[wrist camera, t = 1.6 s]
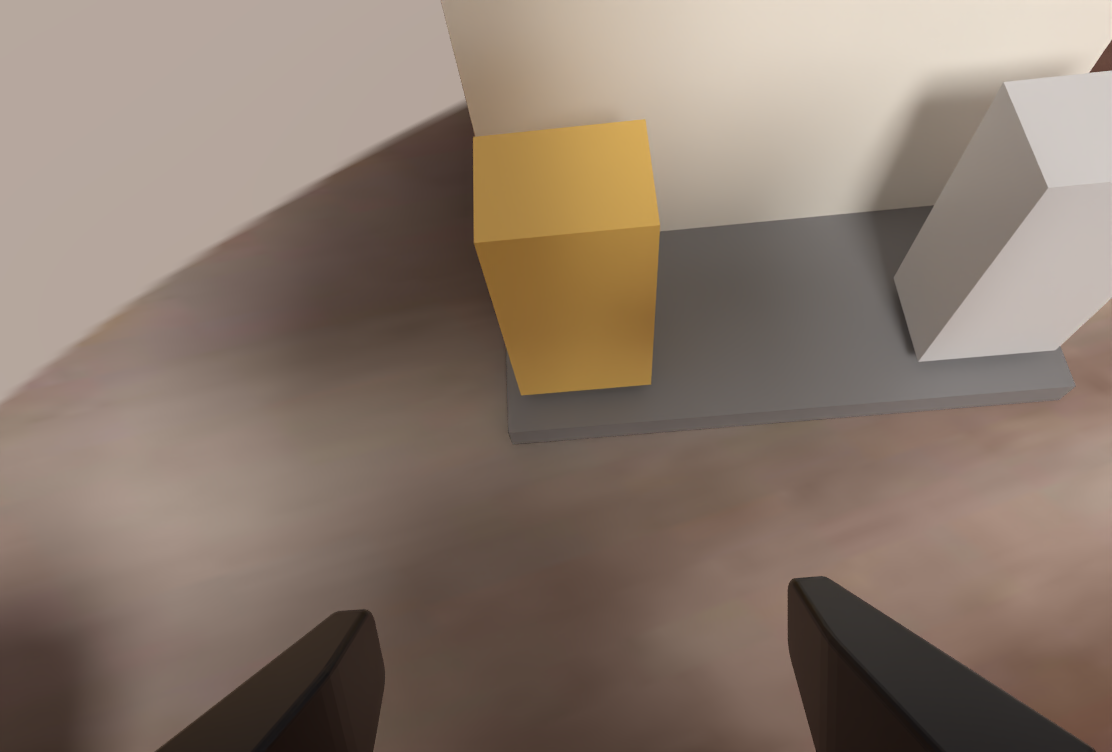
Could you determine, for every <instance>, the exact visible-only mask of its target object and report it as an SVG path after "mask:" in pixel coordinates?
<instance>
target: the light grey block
mask: <svg viewBox="0 0 1112 752" xmlns="http://www.w3.org/2000/svg"><path fill="white" fill-rule="evenodd" d="M894 281H895V285H896V288H897V291H898V295H899V298H900V302H901V305H902V309H903V312H904V315H905V319H906V322H907V326H908V329H909V333H910V336H911V339H912V343H913V346H914V350H915V353H916V357H917V360H918V362H923V361H935V360H946V359H958V358H970V357H982V356H994V355H1006V354H1017V353H1029V352H1041V351H1053V350H1056V349H1057V348H1058V347H1059V346H1061V345H1062V344H1063V343H1064V342H1065V341H1066V340H1067V339H1068V338H1069V337H1070V336H1071V335H1072V334H1073V333H1075V332H1076V331H1077V330H1078V329H1079V328H1080V327H1081V326H1082V325H1083V324H1084V323H1085V322H1086V321H1087V320H1088V319H1090V318H1091V317H1092V316H1093V315H1094V314H1095V313H1096V312H1097V311H1098V310H1099V309H1100V308H1101V307H1102V306H1103V305H1105V304H1106V303H1107V302H1108V301H1109V300H1110V299H1111V298H1112V71H1104V72H1095V73H1085V74H1075V75H1066V76H1056V77H1046V78H1037V79H1027V80H1017V81H1008V82H1003V84H1002V86H1001V87H1000V89H999V91H998V93H997V94H996V96H995V98H994V100H993V102H992V103H991V105H990V107H989V109H988V111H987V112H986V114H985V116H984V118H983V119H982V121H981V123H980V125H979V127H978V128H977V130H976V132H975V134H974V135H973V137H972V139H971V141H970V143H969V144H968V146H967V148H966V150H965V151H964V153H963V155H962V157H961V159H960V160H959V162H958V164H957V166H956V167H955V169H954V171H953V173H952V175H951V176H950V178H949V180H948V182H947V183H946V185H945V187H944V189H943V191H942V192H941V194H940V196H939V198H938V200H937V201H936V203H935V205H934V207H933V208H932V210H931V212H930V214H929V216H928V217H927V219H926V221H925V223H924V224H923V226H922V228H921V230H920V232H919V233H918V235H917V237H916V239H915V240H914V242H913V244H912V246H911V248H910V249H909V251H908V253H907V255H906V256H905V258H904V260H903V262H902V264H901V265H900V267H899V269H898V271H897V272H896V274H895V276H894Z"/></svg>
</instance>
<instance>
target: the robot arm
mask: <svg viewBox="0 0 1112 752" xmlns="http://www.w3.org/2000/svg"><path fill="white" fill-rule="evenodd" d="M788 646H789V653H790V658H791V662H792V666H793V669H794V673H795V676H796V680H797V684H798V687H799V691H800V695H801V698H802V702H803V706H804V709H805V713H806V716H807V720H808V724H809V727H810V731H811V735H812V738H813V742H814V746H815V749H816V752H1096V751H1095V749H1094V748H1093V747H1091V746H1089V745H1088V744H1086V743H1085V742H1083V741H1082V740H1080V739H1079V738H1077V737H1075V736H1074V735H1072V734H1071V733H1069V732H1068V731H1066V730H1065V729H1063V728H1061V727H1060V726H1058V725H1057V724H1055V723H1054V722H1052V721H1051V720H1049V719H1047V718H1046V717H1044V716H1043V715H1041V714H1040V713H1038V712H1036V711H1035V710H1033V709H1032V708H1030V707H1029V706H1027V705H1026V704H1024V703H1022V702H1021V701H1019V700H1018V699H1016V698H1015V697H1013V696H1012V695H1010V694H1008V693H1007V692H1005V691H1004V690H1002V689H1001V688H999V687H998V686H996V685H994V684H993V683H991V682H990V681H988V680H987V679H985V678H983V677H982V676H980V675H979V674H977V673H976V672H974V671H973V670H971V669H969V668H968V667H966V666H965V665H963V664H962V663H960V662H959V661H957V660H955V659H954V658H952V657H951V656H949V655H948V654H946V653H945V652H943V651H941V650H940V649H938V648H937V647H935V646H934V645H932V644H930V643H929V642H927V641H926V640H924V639H923V638H921V637H920V636H918V635H916V634H915V633H913V632H912V631H910V630H909V629H907V628H906V627H904V626H902V625H901V624H899V623H898V622H896V621H895V620H893V619H892V618H890V617H888V616H887V615H885V614H884V613H882V612H881V611H879V610H877V609H876V608H874V607H873V606H871V605H870V604H868V603H867V602H865V601H863V600H862V599H860V598H859V597H857V596H856V595H854V594H853V593H851V592H849V591H848V590H846V589H845V588H843V587H842V586H840V585H839V584H837V583H835V582H834V581H832V580H831V579H829V578H827V577H823V576H818V577H806V578H794V579H792V580H791V581H790V583H789V585H788ZM384 685H385V669H384V662H383V658H382V653H381V648H380V643H379V639H378V634H377V629H376V624H375V620H374V617H373V615H372V613H371V612H370V611H368V610H366V609H361V610H347V611H337V612H335V613H333V614H332V615H330V616H329V617H328V618H327V619H325V620H324V621H323V622H321V623H320V624H319V625H317V626H316V627H315V628H314V629H312V630H311V631H310V632H308V633H307V634H306V635H305V636H303V637H302V638H301V639H299V640H298V641H297V642H296V643H294V644H293V645H292V646H290V647H289V648H288V649H287V650H285V651H284V652H283V653H281V654H280V655H279V656H278V657H276V658H275V659H274V660H272V661H271V662H270V663H268V664H267V665H266V666H265V667H263V668H262V669H261V670H259V671H258V672H257V673H256V674H254V675H253V676H252V677H250V678H249V679H248V680H247V681H245V682H244V683H243V684H241V685H240V686H239V687H238V688H236V689H235V690H234V691H232V692H231V693H230V694H229V695H227V696H226V697H225V698H223V699H222V700H221V701H219V702H218V703H217V704H216V705H214V706H213V707H212V708H210V709H209V710H208V711H207V712H205V713H204V714H203V715H201V716H200V717H199V718H198V719H196V720H195V721H194V722H192V723H191V724H190V725H189V726H187V727H186V728H185V729H183V730H182V731H181V732H179V733H178V734H177V735H176V736H174V737H173V738H172V739H170V740H169V741H168V742H167V743H165V744H164V745H163V746H161V747H160V748H159V749H158V750H156V751H155V752H373V749H374V744H375V738H376V732H377V726H378V721H379V715H380V709H381V703H382V697H383V692H384Z"/></svg>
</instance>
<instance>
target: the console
mask: <svg viewBox="0 0 1112 752" xmlns="http://www.w3.org/2000/svg"><path fill="white" fill-rule="evenodd" d="M441 4H442V8H443V11H444V16H445V19H446V24H447V27H448V31H449V35H450V39H451V43H452V47H453V51H454V55H455V59H456V63H457V67H458V71H459V75H460V79H461V82H462V86H463V90H464V94H465V98H466V102H467V106H468V110H469V114H470V118H471V122H472V126H473V130H474V134H475V137H478V136H487V135H497V134H506V133H516V132H526V131H535V130H545V129H555V128H564V127H574V126H584V125H593V124H603V123H613V122H622V121H632V120H641V119H646V127H647V134H648V141H649V148H650V155H651V163H652V170H653V177H654V184H655V192H656V199H657V206H658V213H659V221H660V236H659V254H658V271H657V289H656V306H655V324H654V341H653V359H652V376H651V385H639V386H628V387H616V388H604V389H592V390H580V391H568V392H557V393H545V394H533V395H521V393H520V390H519V387H518V384H517V380H516V377H515V374H514V371H513V367H512V364H511V361H510V358H509V355H508V351H507V348H506V367H507V403H508V433H509V436H510V439H511V441H512V444H522V443H535V442H547V441H559V440H572V439H584V438H596V437H609V436H621V435H633V434H646V433H658V432H670V431H683V430H695V429H707V428H720V427H732V426H744V425H757V424H769V423H781V422H794V421H806V420H818V419H830V418H843V417H855V416H867V415H880V414H892V413H904V412H917V411H929V410H941V409H954V408H966V407H978V406H991V405H1003V404H1015V403H1028V402H1040V401H1052V400H1059V399H1061V398H1062V397H1063V396H1064V395H1066V394H1067V393H1068V392H1069V391H1071V390H1072V389H1073V388H1074V387H1076V386H1075V383H1074V380H1073V378H1072V375H1071V373H1070V370H1069V367H1068V365H1067V362H1066V360H1065V357H1064V355H1063V352H1062V349H1061V347H1060V346H1059V347H1058V348H1057V349H1056V350H1053V351H1041V352H1029V353H1017V354H1006V355H994V356H982V357H970V358H958V359H946V360H935V361H923V362H918V360H917V357H916V353H915V350H914V346H913V343H912V339H911V336H910V333H909V329H908V326H907V322H906V319H905V315H904V312H903V309H902V305H901V302H900V298H899V295H898V291H897V288H896V285H895V281H894V276H895V274H896V272H897V271H898V269H899V267H900V265H901V264H902V262H903V260H904V258H905V256H906V255H907V253H908V251H909V249H910V248H911V246H912V244H913V242H914V240H915V239H916V237H917V235H918V233H919V232H920V230H921V228H922V226H923V224H924V223H925V221H926V219H927V217H928V216H929V214H930V212H931V210H932V208H933V207H934V205H935V203H936V201H937V200H938V198H939V196H940V194H941V192H942V191H943V189H944V187H945V185H946V183H947V182H948V180H949V178H950V176H951V175H952V173H953V171H954V169H955V167H956V166H957V164H958V162H959V160H960V159H961V157H962V155H963V153H964V151H965V150H966V148H967V146H968V144H969V143H970V141H971V139H972V137H973V135H974V134H975V132H976V130H977V128H978V127H979V125H980V123H981V121H982V119H983V118H984V116H985V114H986V112H987V111H988V109H989V107H990V105H991V103H992V102H993V100H994V98H995V96H996V94H997V93H998V91H999V89H1000V87H1001V86H1002V84H1003V82H1008V81H1017V80H1027V79H1037V78H1046V77H1056V76H1066V75H1075V74H1085V73H1089V72H1090V70H1091V69H1092V68H1093V66H1094V65H1095V63H1096V62H1097V60H1098V59H1099V57H1100V56H1101V54H1102V53H1103V51H1104V50H1105V48H1106V47H1107V45H1108V44H1109V43H1110V41H1111V40H1112V0H441Z"/></svg>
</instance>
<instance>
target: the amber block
mask: <svg viewBox="0 0 1112 752" xmlns="http://www.w3.org/2000/svg"><path fill="white" fill-rule="evenodd" d="M473 197H474V245H475V248H476V252H477V255H478V258H479V261H480V265H481V268H482V271H483V274H484V277H485V281H486V284H487V287H488V290H489V293H490V297H491V300H492V303H493V306H494V310H495V313H496V316H497V319H498V322H499V326H500V329H501V332H502V335H503V338H504V342H505V345H506V348H507V351H508V355H509V358H510V361H511V364H512V367H513V371H514V374H515V377H516V380H517V384H518V387H519V390H520V393H521V395H533V394H545V393H557V392H568V391H580V390H592V389H604V388H616V387H628V386H639V385H651V376H652V359H653V341H654V324H655V306H656V289H657V271H658V254H659V236H660V221H659V213H658V206H657V199H656V192H655V184H654V177H653V170H652V163H651V155H650V148H649V141H648V134H647V127H646V119H641V120H632V121H622V122H613V123H603V124H593V125H584V126H574V127H564V128H555V129H545V130H535V131H526V132H516V133H506V134H497V135H487V136H478V137H473Z"/></svg>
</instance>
